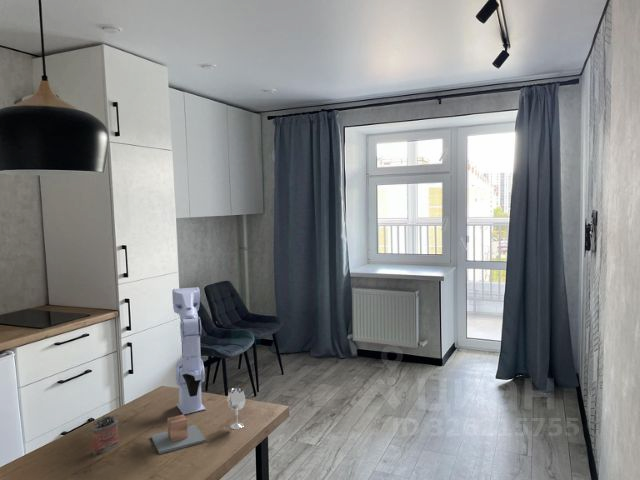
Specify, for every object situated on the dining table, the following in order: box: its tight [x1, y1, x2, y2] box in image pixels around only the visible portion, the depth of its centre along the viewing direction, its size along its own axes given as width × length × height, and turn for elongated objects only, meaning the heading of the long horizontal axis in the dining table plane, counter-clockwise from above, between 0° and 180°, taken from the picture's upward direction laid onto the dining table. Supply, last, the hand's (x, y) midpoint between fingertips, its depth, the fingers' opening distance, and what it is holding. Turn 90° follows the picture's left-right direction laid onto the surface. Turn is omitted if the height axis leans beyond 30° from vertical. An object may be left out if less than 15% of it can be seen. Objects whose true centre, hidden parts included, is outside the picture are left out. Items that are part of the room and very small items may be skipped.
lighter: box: [91, 414, 120, 456], centre depth 146 cm, size 8×3×10 cm, turn 145°
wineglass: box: [226, 387, 246, 430], centre depth 159 cm, size 6×6×12 cm
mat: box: [150, 424, 207, 455], centre depth 151 cm, size 12×14×1 cm
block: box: [167, 414, 188, 442], centre depth 151 cm, size 4×5×6 cm
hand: (193, 395), depth 159 cm, fingers closed
